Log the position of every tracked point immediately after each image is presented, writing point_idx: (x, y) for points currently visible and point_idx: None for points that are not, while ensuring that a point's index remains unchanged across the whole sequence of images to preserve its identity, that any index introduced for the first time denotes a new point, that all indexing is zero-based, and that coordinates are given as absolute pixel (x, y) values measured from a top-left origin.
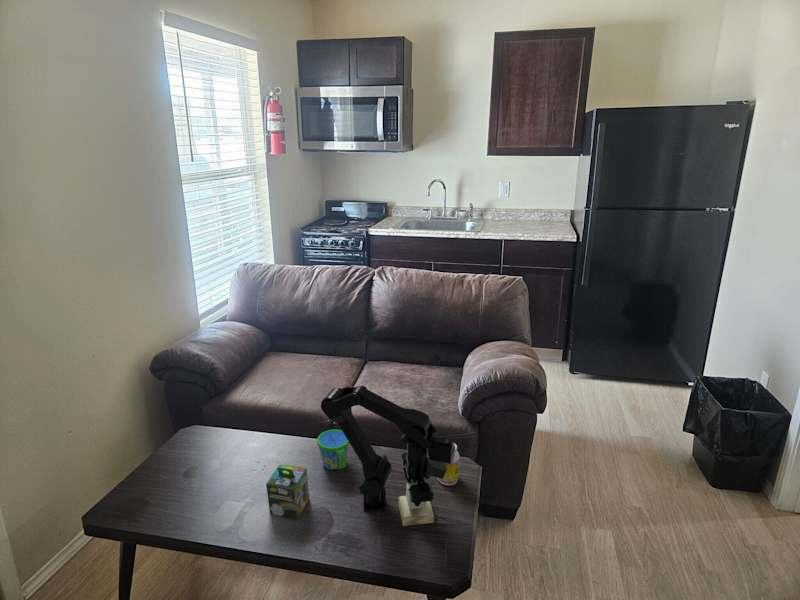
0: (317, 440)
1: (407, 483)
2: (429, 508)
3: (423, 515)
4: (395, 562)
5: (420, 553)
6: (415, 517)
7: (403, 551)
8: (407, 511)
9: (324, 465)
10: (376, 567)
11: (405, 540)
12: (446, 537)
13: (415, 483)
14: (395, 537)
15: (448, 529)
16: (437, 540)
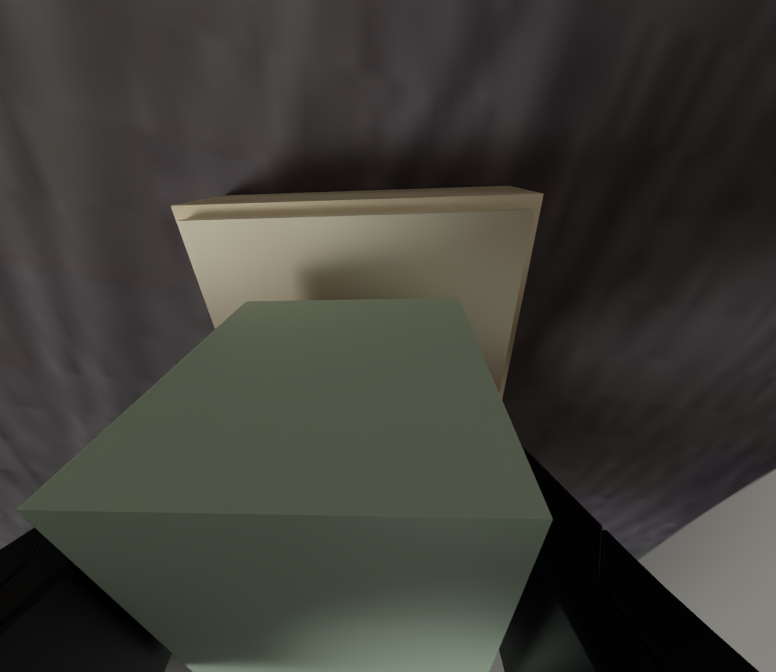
0: None
1: (194, 670)
2: (437, 237)
3: (509, 314)
4: (712, 465)
5: (751, 345)
6: (505, 379)
7: (668, 427)
8: None
9: None
10: (684, 523)
11: (594, 408)
12: (752, 77)
13: (156, 610)
14: (548, 447)
15: (662, 16)
16: (725, 191)
